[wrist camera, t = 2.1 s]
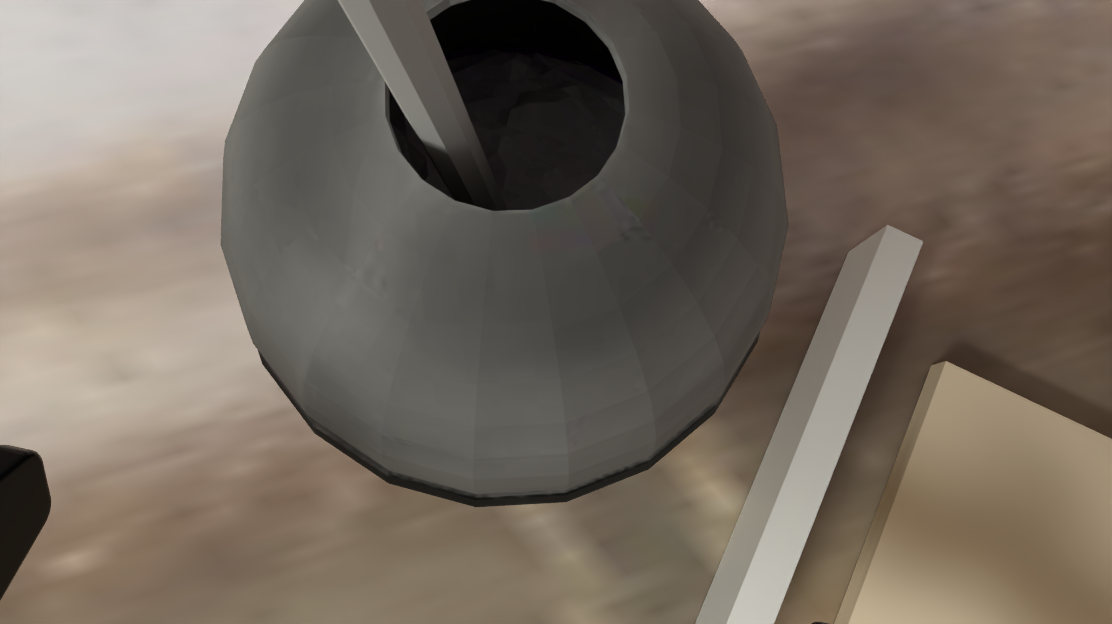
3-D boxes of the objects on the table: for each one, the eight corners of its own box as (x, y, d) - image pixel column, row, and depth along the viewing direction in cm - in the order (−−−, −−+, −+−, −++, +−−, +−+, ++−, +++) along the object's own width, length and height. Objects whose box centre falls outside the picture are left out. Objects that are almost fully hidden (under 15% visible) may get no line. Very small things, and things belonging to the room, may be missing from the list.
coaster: (1166, 898, 20) (1192, 915, 20) (799, 717, 21) (810, 726, 20) (1267, 523, 22) (1294, 525, 22) (931, 365, 23) (946, 360, 22)
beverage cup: (671, 462, 22) (1993, 294, 2) (400, 522, 21) (-904, 977, 2) (611, 208, 23) (1128, -1232, 4) (355, 256, 23) (-651, -1195, 3)
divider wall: (685, 752, 20) (709, 789, 18) (649, 734, 20) (668, 768, 18) (880, 266, 23) (923, 241, 21) (848, 251, 23) (887, 224, 21)
